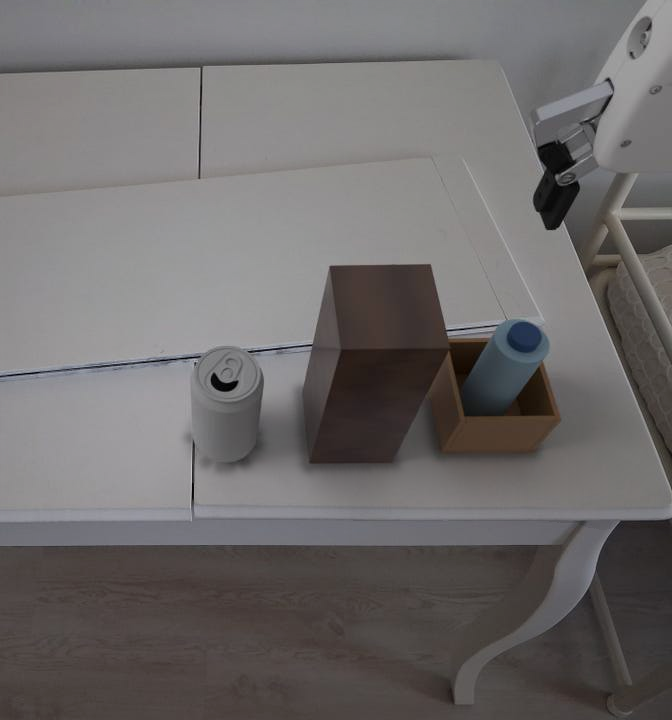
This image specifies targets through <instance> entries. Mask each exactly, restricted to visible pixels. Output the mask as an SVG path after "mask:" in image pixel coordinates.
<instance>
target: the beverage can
mask: <svg viewBox="0 0 672 720" xmlns="http://www.w3.org/2000/svg"><path fill="white" fill-rule="evenodd" d="M189 385H190V402H191V403H190V407H191V409H190V410H191V433H192V434H191V435H192V440H193V443H194V445H195V447H196V449H197V450H198V451H199V452H200V453H201V454H202V455H203V456H204V457H206V458H207V459H209V460H212V461H214V462H218V463H233V462H237V461H240V460H242V459H244V458H245V457H246V456H248V455H249V454H250V453H251V452H252V451H253V450H254V448H255V446H256V443H257V441H258V434H259V427H260V417H261V411H262V403H263V395H264V388H265V378H264V373H263V370H262V369H261V367H260V365H259V363H258V361H257V359H256V358H255V357H254V356H253V355H252V354H251V353H250V352H248V350H246V349H244V348H241V347H238V346H235V345H219V346H215V347H213V348H210V349H208V350H207V351H205V352H204V353H203V354H202V355H201V356H200V357H199V358H198V360H197V362H196V363H195V365H194V367H193V368H192V370H191V374H190V383H189Z"/></svg>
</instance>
